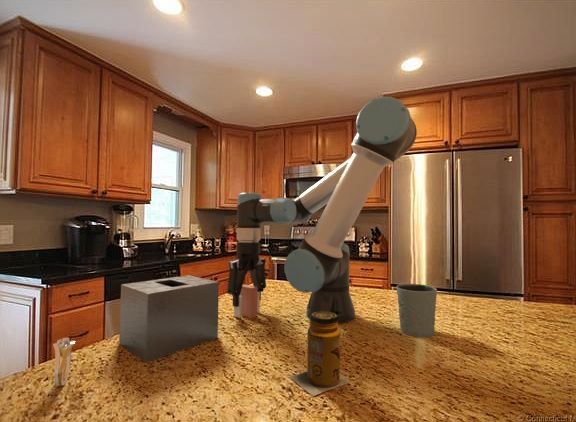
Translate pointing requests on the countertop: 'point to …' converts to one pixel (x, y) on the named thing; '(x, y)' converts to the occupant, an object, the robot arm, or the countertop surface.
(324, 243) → the robot arm
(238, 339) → the countertop surface
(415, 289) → the grey cup
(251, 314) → the block
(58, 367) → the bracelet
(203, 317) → the coin box
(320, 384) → the condiment
